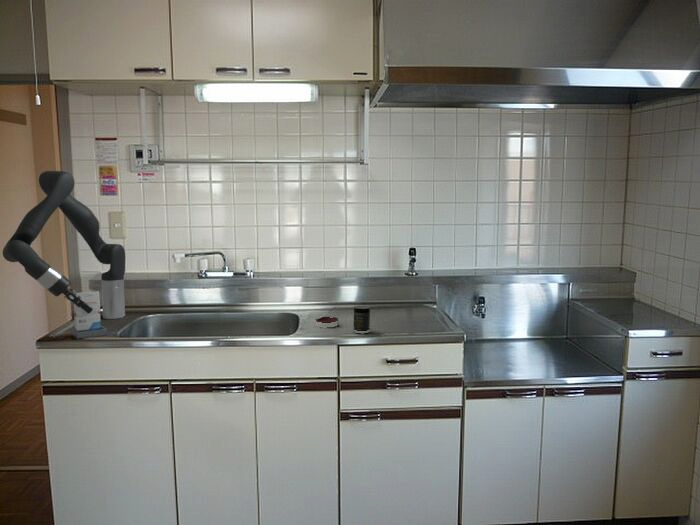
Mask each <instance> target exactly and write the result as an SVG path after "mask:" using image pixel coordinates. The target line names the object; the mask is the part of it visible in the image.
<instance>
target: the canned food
mask: <svg viewBox="0 0 700 525" xmlns="http://www.w3.org/2000/svg"><path fill="white" fill-rule="evenodd" d="M336 308H337V307H336V306H335V307H333V308H332V309H330V310H329V311H328V312H326V313H324V314H321V315H320V316H318V317H316V318H315V319H314V320H316V321H317V322H322V323H331V322H336V321H338V322H339V318H338V317H336V316H335V317H334V316H332V317H333V318H330V317H331V316H327V315H328V314H329V313H330V312H332V311H333V310H335V309H336Z"/></svg>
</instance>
